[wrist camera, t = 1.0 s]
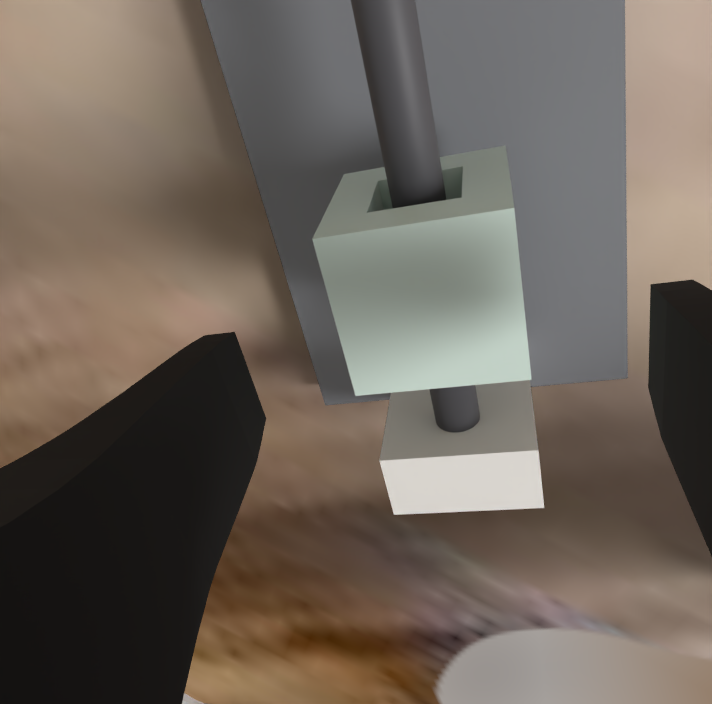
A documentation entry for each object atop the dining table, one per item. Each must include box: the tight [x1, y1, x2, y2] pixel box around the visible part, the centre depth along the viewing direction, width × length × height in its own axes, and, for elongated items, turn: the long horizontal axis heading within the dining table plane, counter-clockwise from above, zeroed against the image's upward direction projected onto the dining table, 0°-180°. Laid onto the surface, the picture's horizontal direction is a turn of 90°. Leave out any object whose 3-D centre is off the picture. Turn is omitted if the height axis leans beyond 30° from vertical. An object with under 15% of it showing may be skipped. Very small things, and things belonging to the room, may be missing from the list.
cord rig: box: [201, 0, 628, 515], centre depth 15 cm, size 22×10×6 cm, turn 13°
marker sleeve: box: [312, 146, 532, 396], centre depth 16 cm, size 4×4×4 cm
